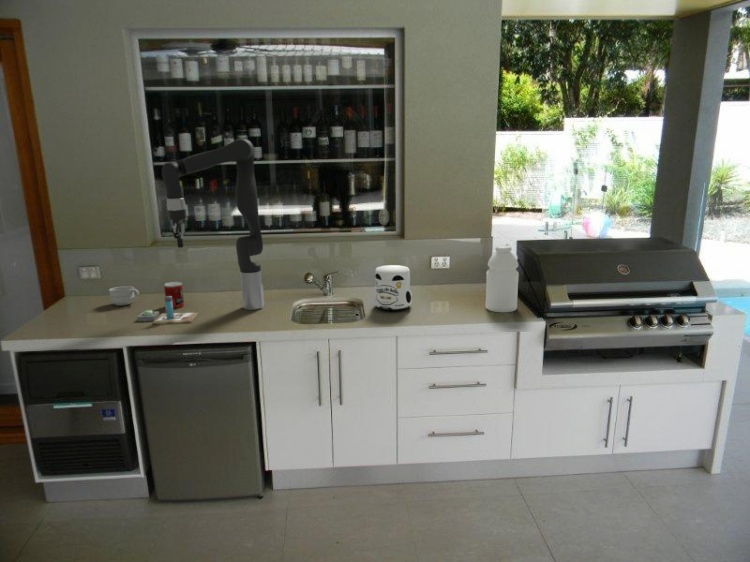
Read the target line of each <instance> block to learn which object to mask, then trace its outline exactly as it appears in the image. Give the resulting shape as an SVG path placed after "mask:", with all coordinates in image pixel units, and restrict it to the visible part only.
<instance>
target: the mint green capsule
mask: <svg viewBox="0 0 750 562" xmlns="http://www.w3.org/2000/svg"><path fill="white" fill-rule="evenodd" d="M143 312H144V316H152V315H153V312H154V311H153V310H152V309H146V310H144V311H143Z"/></svg>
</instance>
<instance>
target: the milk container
mask: <svg viewBox="0 0 750 562" xmlns="http://www.w3.org/2000/svg"><path fill="white" fill-rule="evenodd" d="M410 272H411V271H410V268H409V267H408V266H406V265H398V264H397V265H395V264H388V265H387V264H386V265H380V266H377V267H376V268H375V270H374V276H375V278H374V280H375V281H374V283H375V284H374V286H375V287H374V292H373V302H374V305H375V307H376V308H378V309H380V310H384V311H393V312H394V311H402V310H405V309H407V308H409V307H410V306H411V304H412V300H413V295H412V291H411V273H410Z"/></svg>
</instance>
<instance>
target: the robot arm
mask: <svg viewBox="0 0 750 562" xmlns="http://www.w3.org/2000/svg"><path fill="white" fill-rule="evenodd" d="M254 160H255V147H254V145H253V143H252V142H251V141H250V140H249V139H248V138H247V139H246V138H237V139H235V140H234V141H232V142H229V143H228V144H226V145H224V146H221V147H218V148H217V149H213V150H209V151H208V150H207V151H203V152H200V153H196V154H193V155H190V156H187V157H185V158H182V159H177V160H174V161H168V162H165V163H164V164H163V165H162V167H161V176H162V180H163V184H164V186H165V192H166V209H167V214H168V215H167V217H168V220H169V221H172V228H171V232H172V235H173V238H174V239H175V240H176V243H177V248H181V249H182V248H183V247H185V244H184V238H185V234H186V233H185V232H186V224H185V222H184V220H186V219H187V209H186V208H187V207H186V201H185V196H184V195H185V194H184V187H183V186H182V184H181V183H180V182H181V181H180V177H183V176H186V175H189V174H194V173H198V172H202V171H204V170H207V169H210V168H212V167H215V166H218V165H221V164H225V163H229V162H235V164H236V183H235V200H236V201H235V202H236V208H237V210H238V211H239V213H240V215H241V216H242V217H243V218H244V220H245V222H246V223H247V225H248V231H249V235H245V236H240V237H238V238H237V239H236V243H235V247H236V248H235V249H236V255H237V265H238V268H239V272H240V273H239V275H240V285H241V287H240V288H241V297H242V299H241V300H242V308H243V310H247V311H248V310H249V311H252V310H253V311H254V310H259V309H263V308H264V306H265V295H264V293H265V292H264V285H263V282H262V268H261V264H260V263H259V262H254V261H252V260H251V257H254V256H258V255H261V254H262V252H263V250H264V242H263V241H264V240H263V235H262V230H261V224H260V217H259V204H258V203H259V202H258V201H259V200H258V189H257V183H256V176H255V168H254V167H255V161H254Z"/></svg>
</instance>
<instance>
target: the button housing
mask: <svg viewBox="0 0 750 562" xmlns="http://www.w3.org/2000/svg"><path fill="white" fill-rule="evenodd" d="M152 312H153V315H152V316H144V311H142V312H141V313H140V314H139V315H138V316H137V317H136V319H137V322H154V321H155V320H156V319H157V318H158V317H159V316H160V315H161V314H160V311H158V310H157V311H152Z"/></svg>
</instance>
